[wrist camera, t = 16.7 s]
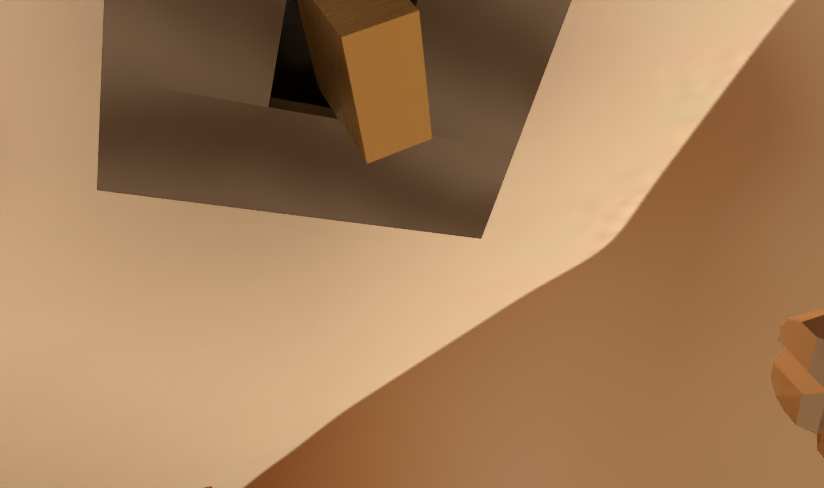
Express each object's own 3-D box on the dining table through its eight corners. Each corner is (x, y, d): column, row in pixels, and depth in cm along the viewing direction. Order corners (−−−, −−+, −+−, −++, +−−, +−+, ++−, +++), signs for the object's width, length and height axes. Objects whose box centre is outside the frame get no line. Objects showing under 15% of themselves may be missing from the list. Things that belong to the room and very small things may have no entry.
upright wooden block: (376, 66, 27) (432, 138, 24) (318, 87, 27) (367, 163, 24) (356, -57, 23) (419, 10, 20) (287, -35, 23) (341, 37, 20)
